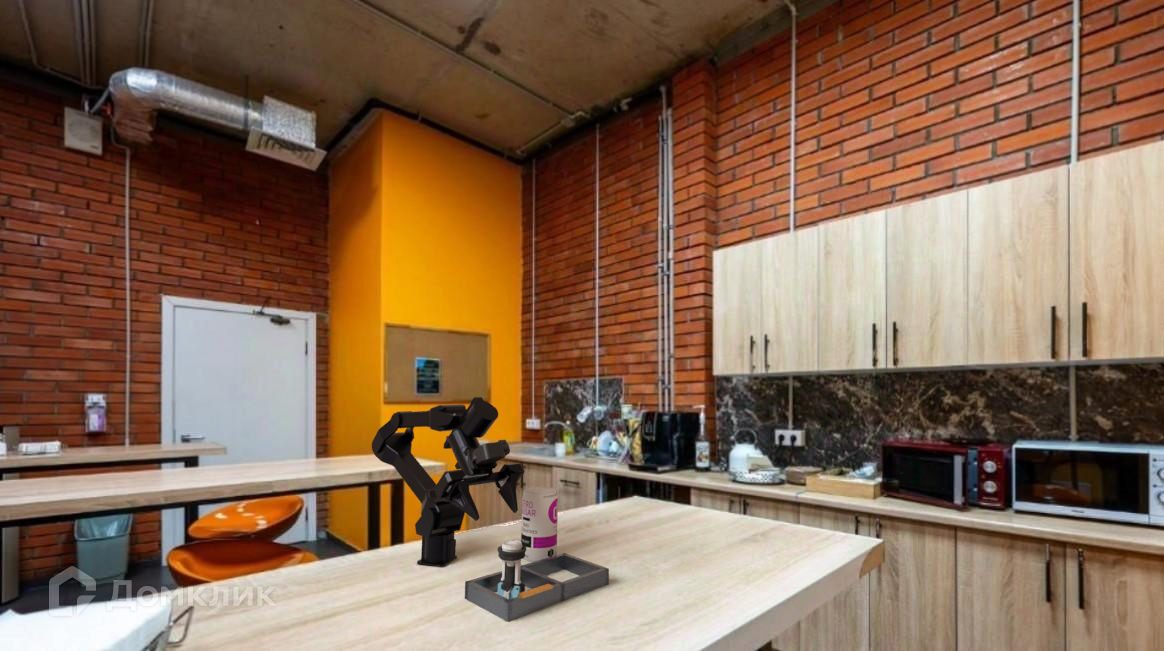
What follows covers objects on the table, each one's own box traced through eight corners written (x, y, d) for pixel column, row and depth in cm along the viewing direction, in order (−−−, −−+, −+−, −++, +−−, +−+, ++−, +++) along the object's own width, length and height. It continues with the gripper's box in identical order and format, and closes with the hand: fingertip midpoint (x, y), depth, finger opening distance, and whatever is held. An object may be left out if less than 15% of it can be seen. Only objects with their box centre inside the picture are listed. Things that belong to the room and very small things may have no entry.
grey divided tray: (464, 598, 101) (465, 579, 102) (564, 567, 119) (564, 551, 119) (508, 622, 92) (508, 600, 92) (609, 584, 109) (609, 566, 110)
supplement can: (561, 553, 128) (563, 487, 129) (548, 564, 120) (550, 494, 121) (529, 549, 130) (531, 485, 132) (514, 560, 123) (516, 491, 124)
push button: (536, 598, 102) (537, 542, 103) (520, 608, 97) (522, 550, 98) (506, 591, 105) (508, 537, 106) (490, 600, 100) (491, 544, 101)
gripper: (444, 429, 107) (474, 497, 98) (520, 424, 120) (553, 484, 111) (422, 465, 112) (449, 533, 103) (497, 457, 125) (527, 516, 116)
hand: (497, 515), depth 108 cm, fingers open, 9 cm apart
